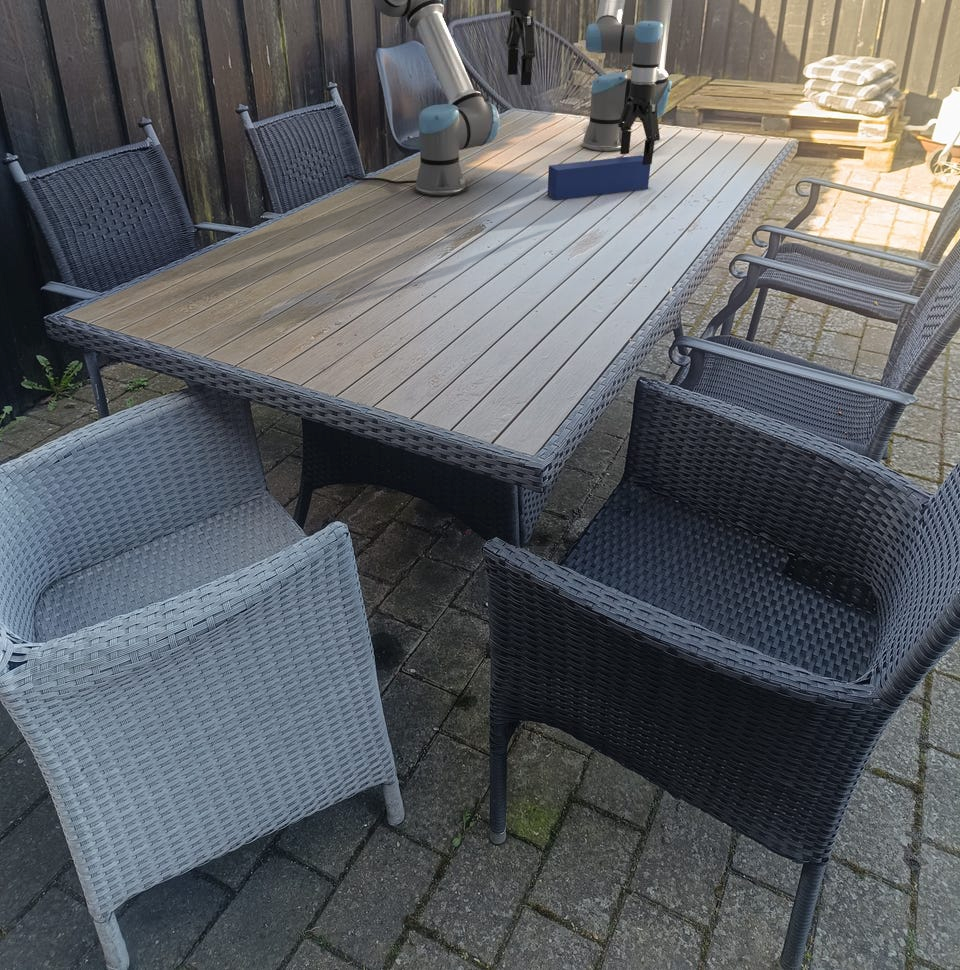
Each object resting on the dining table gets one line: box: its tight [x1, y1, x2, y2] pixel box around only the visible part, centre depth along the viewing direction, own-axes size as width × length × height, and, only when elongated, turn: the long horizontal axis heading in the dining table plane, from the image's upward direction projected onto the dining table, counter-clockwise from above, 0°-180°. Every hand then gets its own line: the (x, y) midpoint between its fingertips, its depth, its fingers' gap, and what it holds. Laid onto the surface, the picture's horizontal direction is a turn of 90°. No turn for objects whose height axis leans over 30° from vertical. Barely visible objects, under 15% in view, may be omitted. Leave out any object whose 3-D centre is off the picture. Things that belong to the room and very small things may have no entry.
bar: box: [546, 154, 652, 201], centre depth 254 cm, size 32×6×9 cm, turn 111°
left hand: (518, 79), depth 235 cm, fingers open, 13 cm apart
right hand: (635, 159), depth 255 cm, fingers open, 13 cm apart
